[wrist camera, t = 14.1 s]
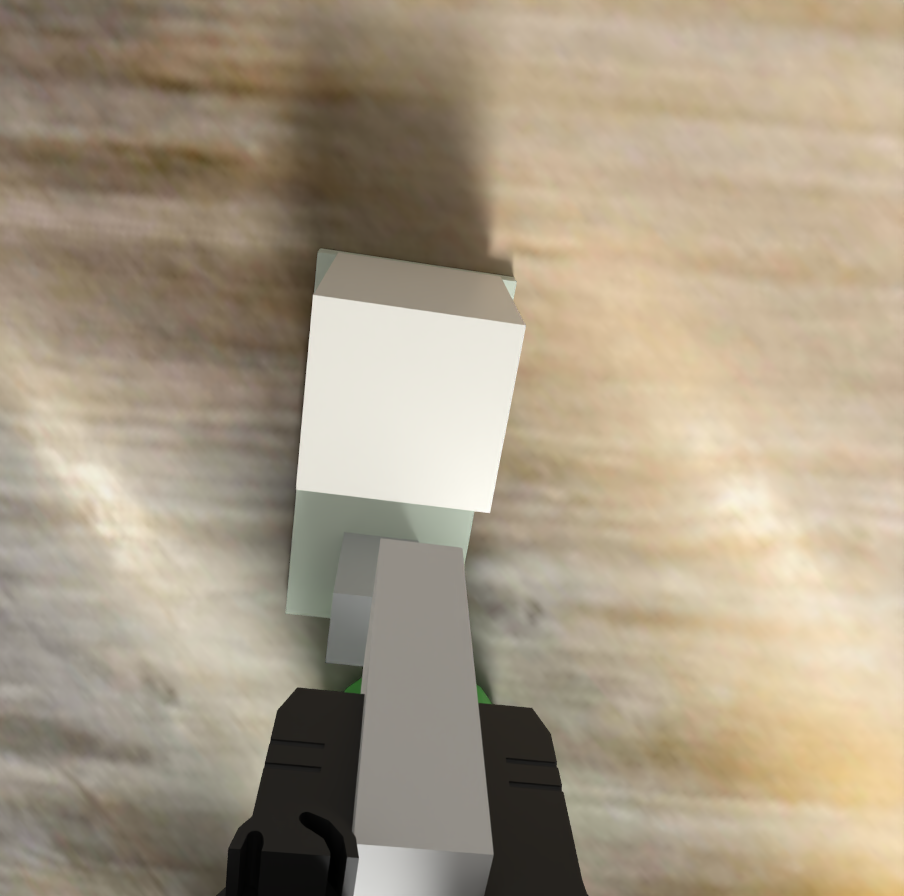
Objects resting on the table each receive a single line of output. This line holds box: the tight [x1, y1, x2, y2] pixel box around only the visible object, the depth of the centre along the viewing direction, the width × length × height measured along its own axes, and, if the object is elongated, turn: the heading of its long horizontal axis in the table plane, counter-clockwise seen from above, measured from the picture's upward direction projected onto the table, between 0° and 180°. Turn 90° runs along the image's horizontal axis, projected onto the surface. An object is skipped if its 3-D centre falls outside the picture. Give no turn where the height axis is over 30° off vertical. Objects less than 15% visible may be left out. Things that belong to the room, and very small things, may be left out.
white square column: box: [296, 252, 526, 513], centre depth 29 cm, size 6×6×8 cm
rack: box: [286, 248, 517, 666], centre depth 33 cm, size 8×17×6 cm, turn 171°
